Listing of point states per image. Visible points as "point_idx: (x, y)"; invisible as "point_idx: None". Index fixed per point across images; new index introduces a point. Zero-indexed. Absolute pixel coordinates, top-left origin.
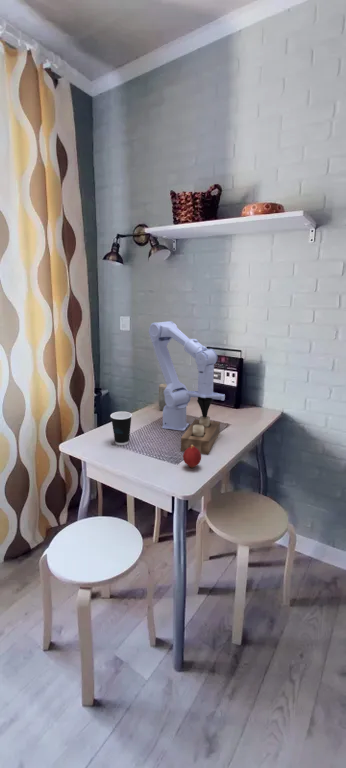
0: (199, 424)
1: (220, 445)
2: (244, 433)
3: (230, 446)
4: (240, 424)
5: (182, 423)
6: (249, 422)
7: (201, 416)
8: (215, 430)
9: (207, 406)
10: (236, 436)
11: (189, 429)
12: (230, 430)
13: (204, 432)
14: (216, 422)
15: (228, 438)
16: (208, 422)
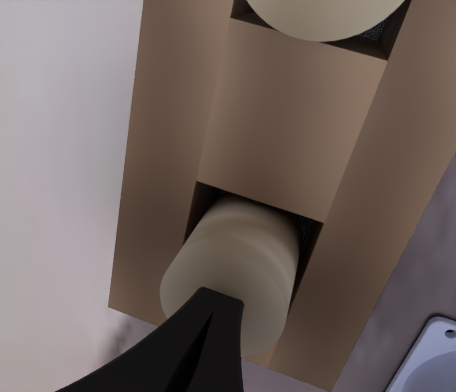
0: (296, 255)
1: (134, 23)
2: (3, 243)
3: (58, 8)
4: (44, 365)
5: (451, 387)
6: (4, 380)
7: (259, 342)
8: (133, 125)
9: (95, 389)
10: (41, 199)
11: (439, 124)
12: (88, 293)
13: (247, 27)
14: (134, 299)
15: (88, 166)
16: (189, 239)
